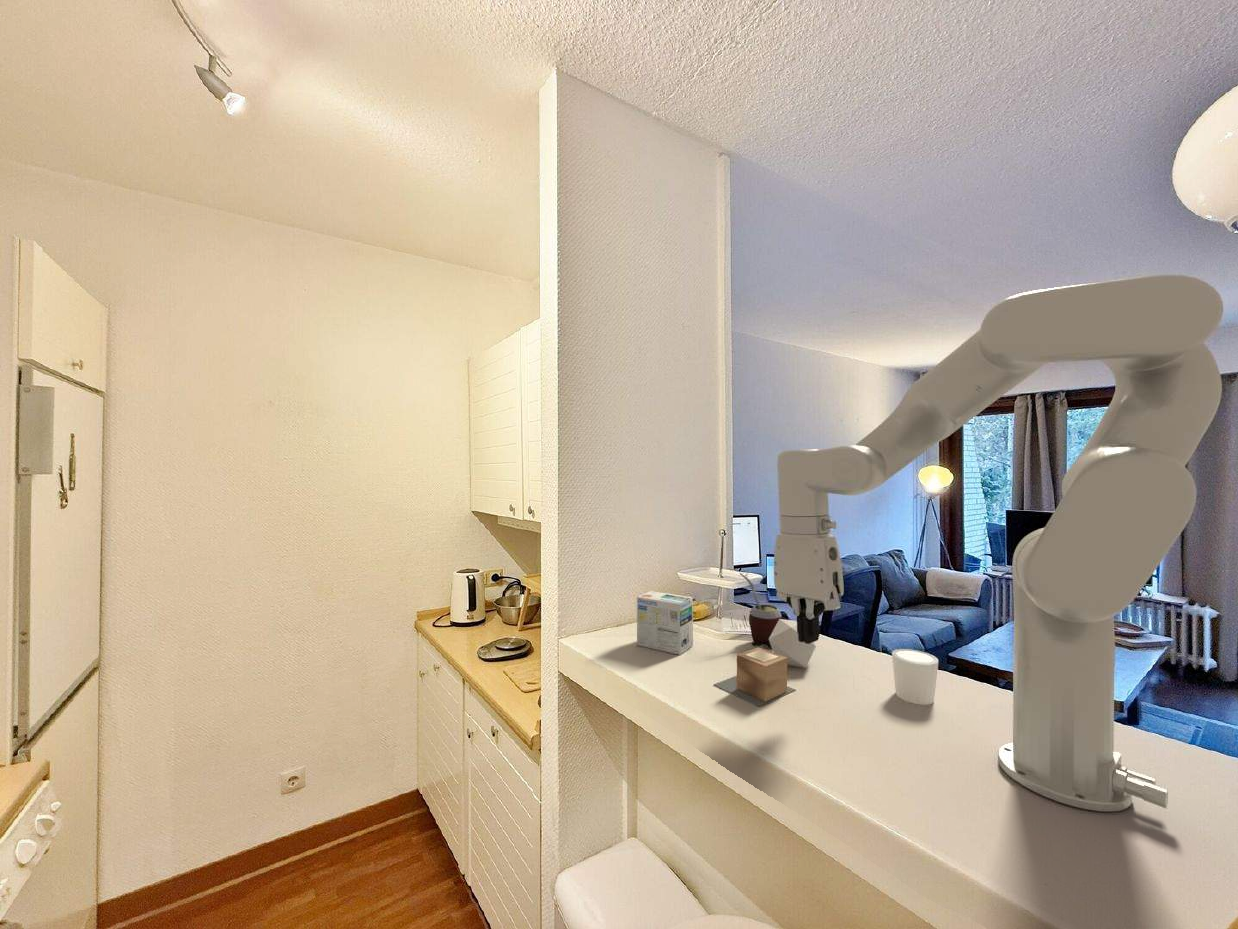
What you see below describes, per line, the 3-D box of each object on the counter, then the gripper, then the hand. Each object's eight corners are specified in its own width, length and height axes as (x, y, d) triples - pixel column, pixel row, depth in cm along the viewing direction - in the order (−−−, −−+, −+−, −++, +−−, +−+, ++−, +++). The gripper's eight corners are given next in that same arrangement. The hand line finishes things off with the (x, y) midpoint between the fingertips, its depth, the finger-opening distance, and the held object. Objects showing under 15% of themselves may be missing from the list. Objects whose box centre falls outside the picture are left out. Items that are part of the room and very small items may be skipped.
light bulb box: (694, 646, 110) (694, 596, 109) (680, 656, 104) (680, 603, 104) (650, 636, 115) (650, 589, 115) (635, 646, 109) (635, 596, 109)
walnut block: (758, 646, 92) (758, 680, 92) (736, 654, 88) (736, 689, 88) (787, 657, 87) (786, 692, 87) (765, 665, 84) (765, 702, 84)
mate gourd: (788, 648, 108) (789, 578, 108) (755, 651, 106) (755, 580, 106) (770, 636, 115) (770, 570, 115) (738, 639, 113) (738, 572, 113)
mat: (795, 690, 88) (795, 689, 88) (759, 707, 82) (759, 706, 82) (749, 671, 96) (749, 670, 96) (713, 685, 90) (713, 684, 90)
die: (819, 662, 102) (793, 615, 107) (832, 655, 94) (803, 605, 99) (781, 679, 101) (757, 631, 106) (791, 674, 94) (764, 622, 98)
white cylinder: (943, 709, 82) (943, 666, 81) (895, 703, 84) (895, 660, 84) (932, 691, 88) (932, 651, 88) (888, 685, 90) (888, 646, 90)
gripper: (861, 527, 78) (866, 647, 77) (778, 521, 90) (782, 625, 89) (835, 531, 73) (840, 659, 73) (751, 525, 85) (755, 635, 85)
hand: (808, 640), depth 81 cm, fingers closed
